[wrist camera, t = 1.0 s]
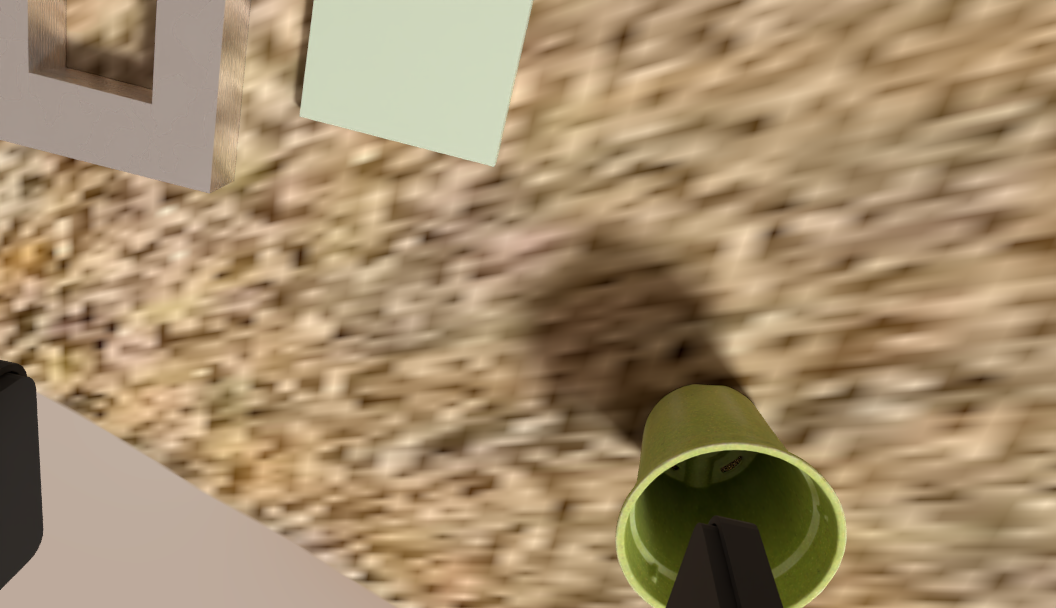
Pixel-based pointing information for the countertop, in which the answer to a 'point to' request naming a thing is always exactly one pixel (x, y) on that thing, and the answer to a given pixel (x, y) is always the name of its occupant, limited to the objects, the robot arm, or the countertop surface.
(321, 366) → the countertop surface
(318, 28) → the sage pad
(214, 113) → the socket plate
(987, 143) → the countertop surface
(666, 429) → the plant pot
